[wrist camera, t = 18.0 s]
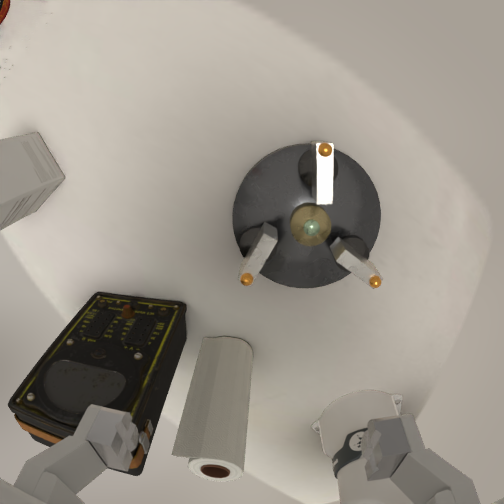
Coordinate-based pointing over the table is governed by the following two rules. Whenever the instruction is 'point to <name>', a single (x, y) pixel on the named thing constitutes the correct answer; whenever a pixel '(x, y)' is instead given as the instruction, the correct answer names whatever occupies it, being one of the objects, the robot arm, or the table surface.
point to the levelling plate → (285, 195)
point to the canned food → (4, 9)
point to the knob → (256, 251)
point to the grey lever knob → (319, 171)
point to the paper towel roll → (217, 410)
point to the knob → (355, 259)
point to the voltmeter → (105, 369)
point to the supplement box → (25, 176)
